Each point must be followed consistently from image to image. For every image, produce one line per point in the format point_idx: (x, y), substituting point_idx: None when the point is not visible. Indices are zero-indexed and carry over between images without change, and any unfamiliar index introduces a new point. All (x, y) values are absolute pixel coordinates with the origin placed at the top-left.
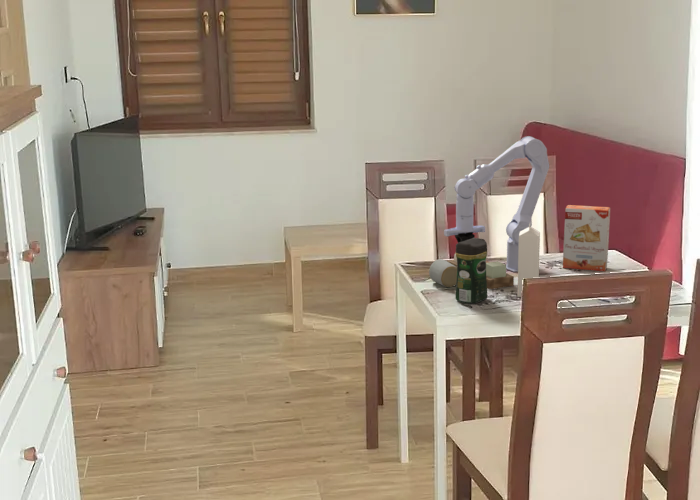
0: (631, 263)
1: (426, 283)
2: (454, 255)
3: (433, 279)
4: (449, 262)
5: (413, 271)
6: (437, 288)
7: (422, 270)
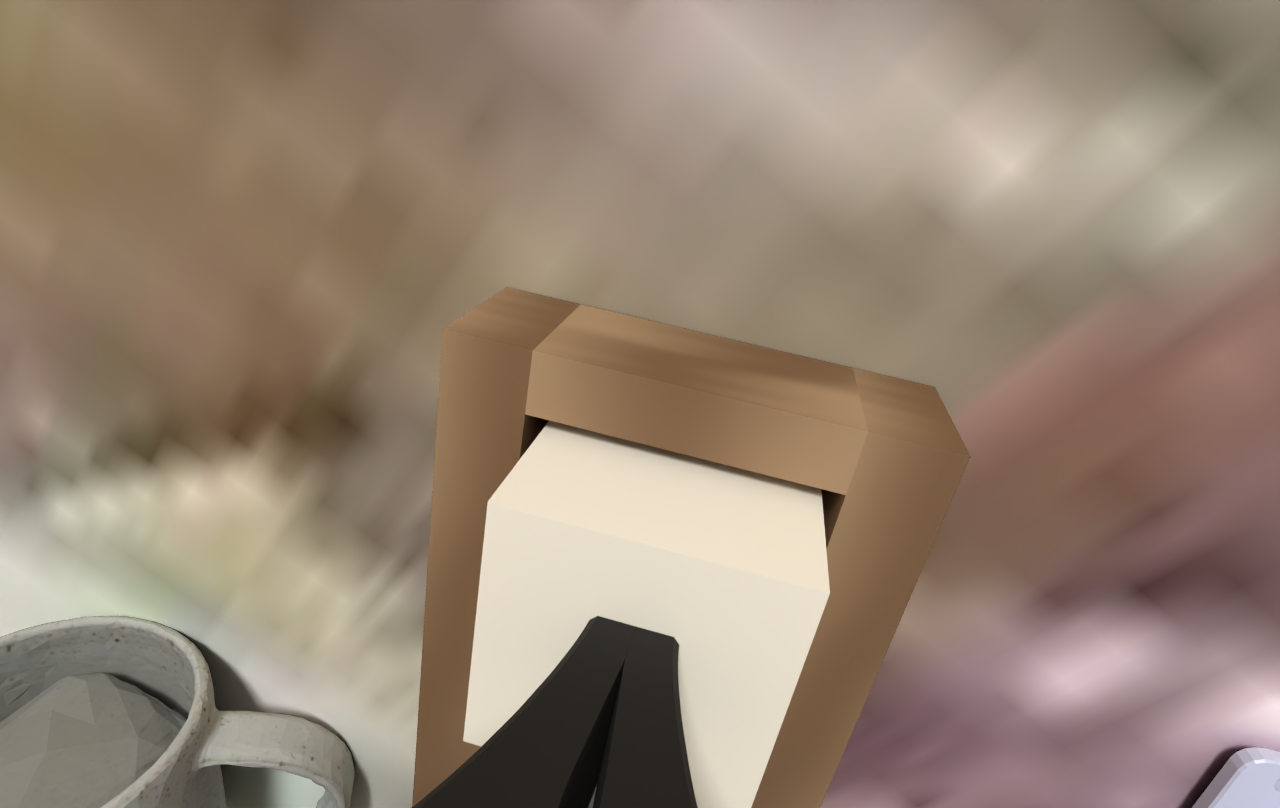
0: None
1: (21, 575)
2: (497, 497)
3: (16, 687)
4: (443, 412)
5: (6, 47)
6: None
7: (146, 90)
